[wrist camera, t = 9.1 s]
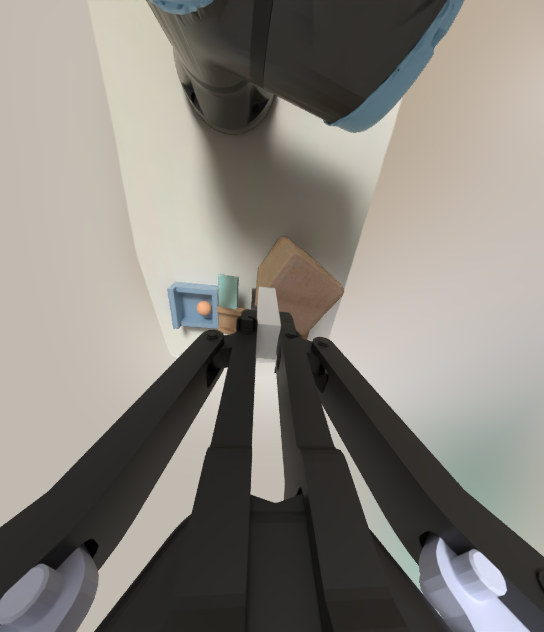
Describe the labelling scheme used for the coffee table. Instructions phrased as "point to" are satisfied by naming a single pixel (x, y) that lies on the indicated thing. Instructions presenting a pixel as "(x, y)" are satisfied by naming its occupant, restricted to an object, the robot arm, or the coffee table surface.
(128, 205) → the coffee table surface
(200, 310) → the ball
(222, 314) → the lever
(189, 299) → the blue square tray
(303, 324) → the wooden block
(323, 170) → the coffee table surface
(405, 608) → the robot arm
